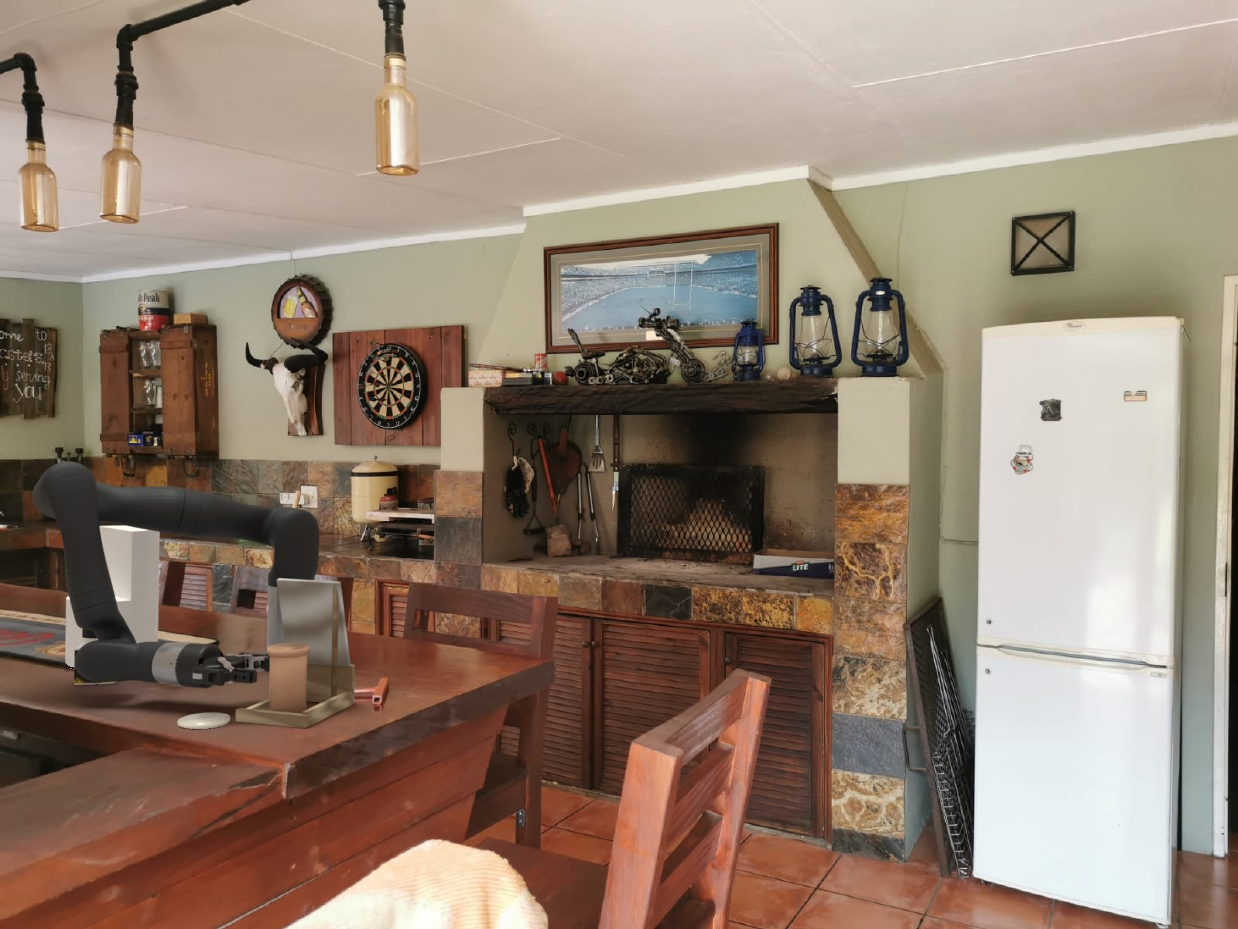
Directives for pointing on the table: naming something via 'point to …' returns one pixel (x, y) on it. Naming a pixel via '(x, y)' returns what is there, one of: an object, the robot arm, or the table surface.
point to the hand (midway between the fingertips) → (270, 671)
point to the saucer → (204, 720)
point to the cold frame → (313, 652)
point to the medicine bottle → (86, 638)
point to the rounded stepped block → (127, 584)
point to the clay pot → (288, 677)
